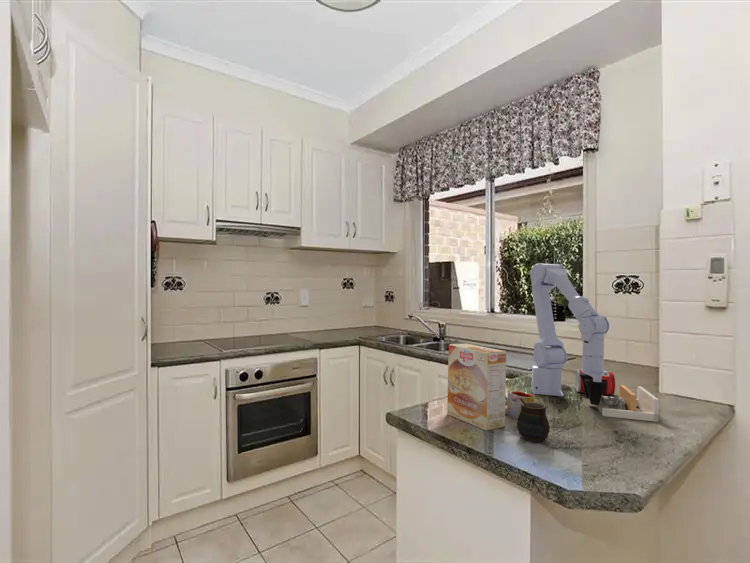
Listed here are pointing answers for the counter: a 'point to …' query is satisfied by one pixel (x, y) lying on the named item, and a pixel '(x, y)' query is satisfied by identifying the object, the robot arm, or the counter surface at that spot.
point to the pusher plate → (628, 398)
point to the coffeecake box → (477, 385)
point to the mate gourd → (533, 422)
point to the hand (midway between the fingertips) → (592, 401)
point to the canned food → (606, 378)
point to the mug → (516, 403)
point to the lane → (644, 402)
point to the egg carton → (611, 403)
